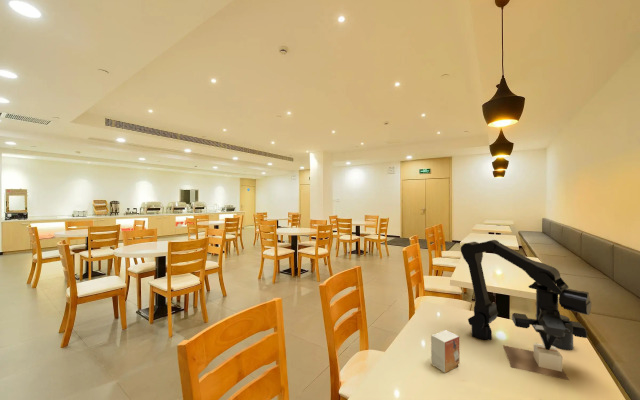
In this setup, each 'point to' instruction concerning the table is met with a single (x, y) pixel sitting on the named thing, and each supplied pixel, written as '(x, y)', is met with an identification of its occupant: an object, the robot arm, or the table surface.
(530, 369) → the base plate
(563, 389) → the table surface
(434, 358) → the small box
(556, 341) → the supplement bottle
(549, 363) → the white carton
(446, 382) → the table surface
